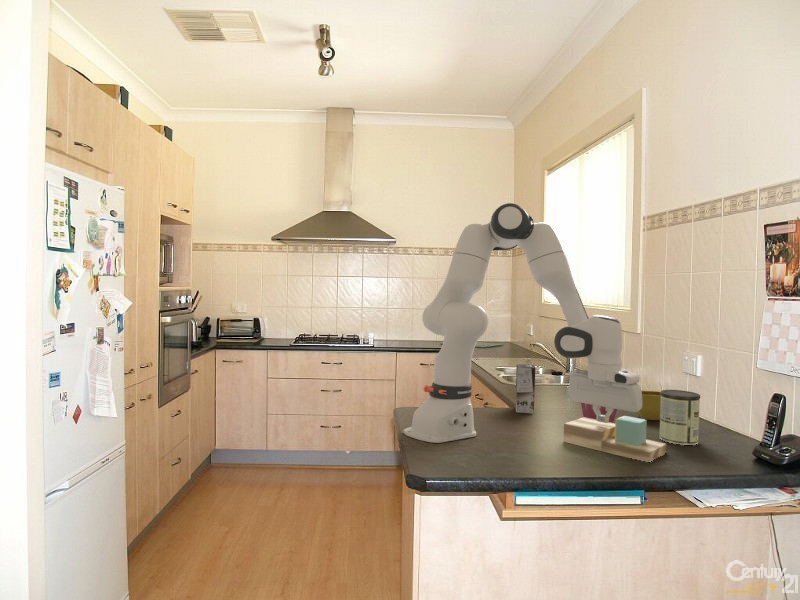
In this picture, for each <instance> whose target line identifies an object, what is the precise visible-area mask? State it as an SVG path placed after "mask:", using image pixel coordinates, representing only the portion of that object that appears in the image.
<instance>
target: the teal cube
mask: <svg viewBox="0 0 800 600" xmlns="http://www.w3.org/2000/svg"><path fill="white" fill-rule="evenodd" d="M647 421H648V420H645V419H642V418H639V417H634V416H628V415H623V416H620V417H617V418H615V419H614V422H615V441H617V442H621V443H626V444H630V445H634V446H639V445H641V444H643V443H645V442H646V439H647Z"/></svg>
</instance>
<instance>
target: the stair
mask: <svg viewBox="0 0 800 600" xmlns="http://www.w3.org/2000/svg"><path fill="white" fill-rule="evenodd" d="M563 442H564V443H568V444H571V445H575V446H578V447H584V448H587V449H591V450H596V451H600V452H604V453H608V454H611V455H616V456H619V457H623V458H628V459H631V458H632V459H631V460H635V459H637V461H639V460H641V461H640V462H643V461H646V462H645V463H647V462H650V463H652V462H654V461H655V460H657V459H659V458H661V457H662V456H664V455H666V454H667V444H668V443H666V442H665V443H664V442H659V441H656V440H652V439H647V438H646V442H645V443H643V444H641V445H639V446H634V445H630V444H626V443H621V442H617V441H615V423H614V422H613V423H610V422H608V423H603V422H599V421H596V419H591V418H586V417H580V418H576V419H574V420H570V421H567V422H565V423H563ZM665 453H666V454H665ZM660 456H661V457H660ZM658 457H659V458H658ZM656 458H657V459H656ZM654 459H655V460H654ZM653 460H654V461H653ZM651 461H652V462H651Z"/></svg>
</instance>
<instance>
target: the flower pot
mask: <svg viewBox="0 0 800 600" xmlns="http://www.w3.org/2000/svg"><path fill="white" fill-rule="evenodd" d="M641 391H642V408H641V410H639V411H638V412H637V414H638V416H639V417H640V419H646V420H647V421H648V420H649V421H660V405H661V394H660V391H661V390H659V391H658V390H657V391H656V390H655V391H654V390H642V389H641Z"/></svg>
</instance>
